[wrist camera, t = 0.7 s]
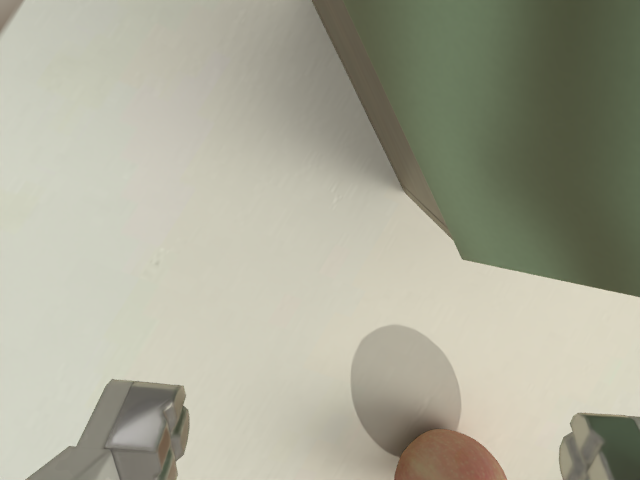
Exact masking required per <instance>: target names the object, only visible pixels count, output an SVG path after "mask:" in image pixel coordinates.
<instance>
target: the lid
mask: <svg viewBox="0 0 640 480" xmlns="http://www.w3.org/2000/svg"><path fill="white" fill-rule="evenodd" d="M343 2H344V4H345V7H346V9H347V11H348V13H349V15H350V17H351V20H352V22H353V24H354V26H355V28H356V30H357V33H358V35H359V37H360V39H361V41H362V43H363V46H364V48H365V50H366V52H367V54H368V56H369V59H370V61H371V63H372V65H373V67H374V69H375V72H376V74H377V76H378V78H379V80H380V82H381V84H382V87H383V89H384V91H385V93H386V95H387V97H388V100H389V102H390V104H391V106H392V108H393V110H394V113H395V115H396V117H397V119H398V121H399V123H400V126H401V128H402V130H403V132H404V134H405V136H406V139H407V141H408V143H409V145H410V147H411V149H412V152H413V154H414V156H415V158H416V160H417V162H418V165H419V167H420V169H421V171H422V173H423V175H424V178H425V180H426V182H427V184H428V186H429V188H430V191H431V193H432V195H433V197H434V199H435V201H436V204H437V206H438V208H439V210H440V212H441V214H442V217H443V219H444V221H445V223H446V225H447V227H448V230H449V232H450V234H451V236H452V238H453V240H454V243H455V245H456V247H457V249H458V251H459V253H460V256H461V258H462V259H463V260H467V261H472V262H477V263H481V264H486V265H491V266H495V267H500V268H505V269H509V270H514V271H519V272H524V273H528V274H533V275H538V276H542V277H547V278H552V279H557V280H561V281H566V282H571V283H575V284H580V285H585V286H590V287H594V288H599V289H604V290H608V291H613V292H618V293H623V294H627V295H632V296H637V297H640V0H343Z"/></svg>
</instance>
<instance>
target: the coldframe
mask: <svg viewBox="0 0 640 480" xmlns="http://www.w3.org/2000/svg"><path fill="white" fill-rule="evenodd" d="M312 2H313V4H314V6H315V8H316V10H317V12H318V14H319V17H320V19H321V21H322V23H323V25H324V27H325V29H326V31H327V33H328V35H329V37H330V39H331V41H332V43H333V45H334V48H335V50H336V52H337V54H338V56H339V58H340V60H341V62H342V64H343V66H344V68H345V70H346V72H347V74H348V76H349V79H350V81H351V83H352V85H353V87H354V89H355V91H356V93H357V95H358V97H359V99H360V101H361V103H362V105H363V107H364V110H365V112H366V114H367V116H368V118H369V120H370V122H371V124H372V126H373V128H374V130H375V132H376V134H377V136H378V138H379V141H380V143H381V145H382V147H383V149H384V151H385V153H386V155H387V157H388V159H389V161H390V163H391V165H392V167H393V169H394V171H395V174H396V176H397V178H398V180H399V182H400V184H401V186H402V188H403V190H404V192H405V193H406V194H407V195H408V196H409V197H410V198H411V199H412V200H413V201H414V202H415V203H416V204H417V205H418V206H419V207H420V208H421V209H422V210H423V211H424V212H425V213H426V214H427V215H428V216H429V217H430V218H431V219H432V220H433V221H434V222H435V223H436V224H437V225H438V226H439V227H440V228H441V229H442V230H443V231H444V232H445V233H446V234H447V235H448V236H449V237H450V238H451V239H452V240H453V238H452V236H451V234H450V232H449V230H448V227H447V225H446V223H445V221H444V219H443V217H442V214H441V212H440V210H439V208H438V206H437V204H436V201H435V199H434V197H433V195H432V193H431V191H430V188H429V186H428V184H427V182H426V180H425V178H424V175H423V173H422V171H421V169H420V167H419V165H418V162H417V160H416V158H415V156H414V154H413V152H412V149H411V147H410V145H409V143H408V141H407V139H406V136H405V134H404V132H403V130H402V128H401V126H400V123H399V121H398V119H397V117H396V115H395V113H394V110H393V108H392V106H391V104H390V102H389V100H388V97H387V95H386V93H385V91H384V89H383V87H382V84H381V82H380V80H379V78H378V76H377V74H376V72H375V69H374V67H373V65H372V63H371V61H370V59H369V56H368V54H367V52H366V50H365V48H364V46H363V43H362V41H361V39H360V37H359V35H358V33H357V30H356V28H355V26H354V24H353V22H352V20H351V17H350V15H349V13H348V11H347V9H346V7H345V4H344V2H343V0H312ZM453 241H454V240H453Z"/></svg>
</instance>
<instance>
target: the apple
mask: <svg viewBox="0 0 640 480" xmlns="http://www.w3.org/2000/svg"><path fill="white" fill-rule="evenodd" d="M394 480H507V478H506V476H505V474H504V471H503V469H502V468H501V466H500V465H499V463H498V462H497V460H496V459H495V458H494V457H493V456H492V454H491V453H490V452H489V451H488V450H487V449H486V448H485V447H484V446H482V445H481V444H480V443H479V442H477V441H476V440H474V439H472V438H470V437H468V436H466V435H464V434H461V433H458V432H455V431H451V430H447V429H433V430H429V431H427V432H425V433H423V434H421V435H420V436H418V437H417V438H416V439H415V440H414V441H413V442H412V443H411V444H410V445H409V446H408V447H407V448H406V449H405V450H404V452H403V453H402V455H401V457H400V459H399V462H398V465H397V468H396V472H395V479H394Z"/></svg>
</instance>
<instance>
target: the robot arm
mask: <svg viewBox="0 0 640 480" xmlns="http://www.w3.org/2000/svg"><path fill="white" fill-rule="evenodd" d="M185 398H186V394H185V389H184V386H180V385H170V384H160V383H149V382H139V381H127V380H115V379H112V380H111V381H110V382H109V383H108V384H107V385H106V386H105V388H104V390H103V392H102V395H101V397H100V399H99V401H98V403H97V405H96V407H95V409H94V411H93V413H92V415H91V417H90V419H89V421H88V423H87V425H86V427H85V429H84V431H83V434H82V436H81V438H80V440H79V442H78V444H77V446H76V447H75V446H69V447H67V448H66V449H65V450H64V451H62V452H61V453H60V454H58V455H57V456H56V457H54V458H53V459H52V460H50V461H49V462H48V463H47V464H45V465H44V466H43V467H41V468H40V469H39V470H37V471H36V472H35V473H33V474H32V475H31V476H30V477H28V478H27V479H26V480H176V479H177V475H178V472H177V467H176V461H177V460H178V459H179V458H180V457H182V456H183V455H184V452H185V448H186V445H187V440H188V434H189V411H188V409H187V408H186V407H184V406H183V404H184V401H185ZM570 425H571V428H572V431H573V432H571V433H570V434H568V435H566V436H565V437H563V440H562V443H561V445H560V448H559V465H560V471H561V474H562V478H563V480H640V417H635V416H626V415H612V414H594V413H577V414H576V415H574V416H573V418H572V420H571V422H570Z"/></svg>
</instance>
